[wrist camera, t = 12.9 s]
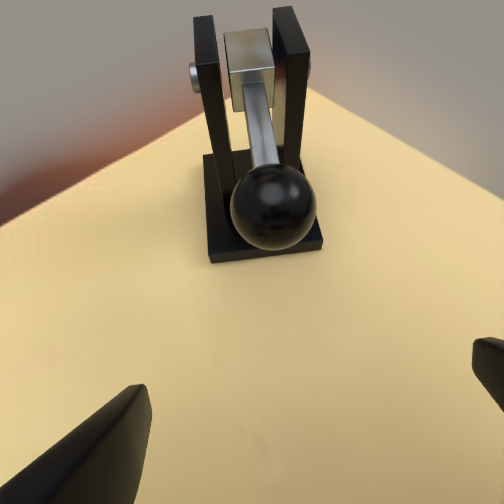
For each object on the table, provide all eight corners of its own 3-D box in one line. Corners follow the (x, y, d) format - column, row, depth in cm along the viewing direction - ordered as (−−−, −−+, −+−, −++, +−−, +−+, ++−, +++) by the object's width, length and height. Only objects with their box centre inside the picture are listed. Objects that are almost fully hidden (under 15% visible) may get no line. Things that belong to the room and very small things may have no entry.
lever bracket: (321, 249, 23) (364, 84, 12) (211, 263, 22) (157, 109, 12) (295, 154, 28) (310, -21, 17) (205, 165, 28) (164, -5, 17)
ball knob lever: (316, 256, 14) (333, 220, 11) (238, 266, 14) (230, 234, 11) (278, 78, 18) (282, 12, 15) (217, 85, 18) (207, 21, 15)
